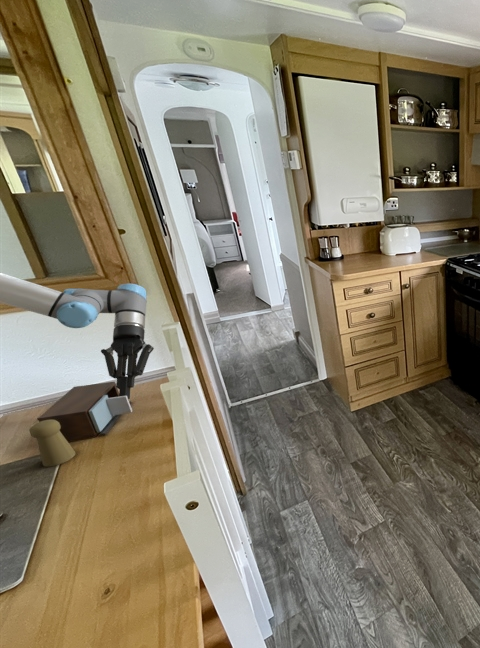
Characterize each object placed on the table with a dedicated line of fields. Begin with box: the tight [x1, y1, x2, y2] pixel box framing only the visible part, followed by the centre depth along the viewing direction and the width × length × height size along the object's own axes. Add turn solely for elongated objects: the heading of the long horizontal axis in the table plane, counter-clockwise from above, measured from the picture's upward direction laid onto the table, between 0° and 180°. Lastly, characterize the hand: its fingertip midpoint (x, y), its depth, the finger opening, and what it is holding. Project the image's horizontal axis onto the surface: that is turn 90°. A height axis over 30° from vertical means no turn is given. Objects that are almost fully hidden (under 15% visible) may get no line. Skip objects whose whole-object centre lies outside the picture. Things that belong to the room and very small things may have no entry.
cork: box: [29, 420, 76, 468], centre depth 95 cm, size 6×6×11 cm
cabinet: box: [37, 381, 132, 443], centre depth 111 cm, size 12×18×8 cm
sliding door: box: [88, 395, 133, 433], centre depth 110 cm, size 6×9×7 cm, turn 21°
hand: (124, 398), depth 114 cm, fingers closed
